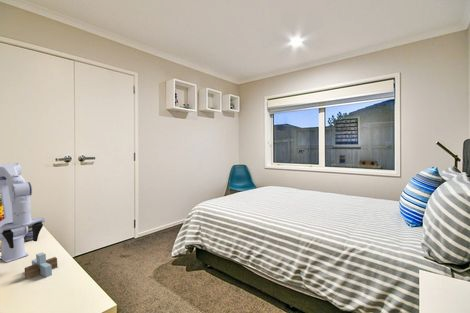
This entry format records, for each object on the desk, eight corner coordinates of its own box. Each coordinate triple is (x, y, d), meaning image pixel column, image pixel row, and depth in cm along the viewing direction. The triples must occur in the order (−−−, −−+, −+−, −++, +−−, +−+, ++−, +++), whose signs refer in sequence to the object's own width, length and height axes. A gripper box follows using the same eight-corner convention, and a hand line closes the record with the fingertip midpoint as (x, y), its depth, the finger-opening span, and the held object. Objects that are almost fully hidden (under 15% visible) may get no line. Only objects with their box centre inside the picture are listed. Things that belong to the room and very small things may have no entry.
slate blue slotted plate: (32, 269, 96) (31, 252, 95) (38, 267, 97) (37, 250, 97) (45, 277, 90) (44, 258, 90) (51, 274, 92) (50, 256, 91)
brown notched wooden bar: (25, 277, 90) (24, 267, 90) (55, 266, 98) (54, 256, 98) (27, 279, 89) (26, 269, 89) (57, 267, 97) (57, 257, 97)
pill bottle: (27, 242, 124) (26, 222, 124) (18, 242, 125) (16, 221, 125) (39, 238, 130) (37, 218, 130) (30, 237, 131) (29, 218, 131)
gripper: (1, 218, 87) (3, 253, 88) (47, 208, 100) (49, 239, 101) (-6, 215, 91) (-3, 249, 92) (39, 207, 104) (41, 236, 104)
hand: (23, 244), depth 96 cm, fingers open, 7 cm apart
